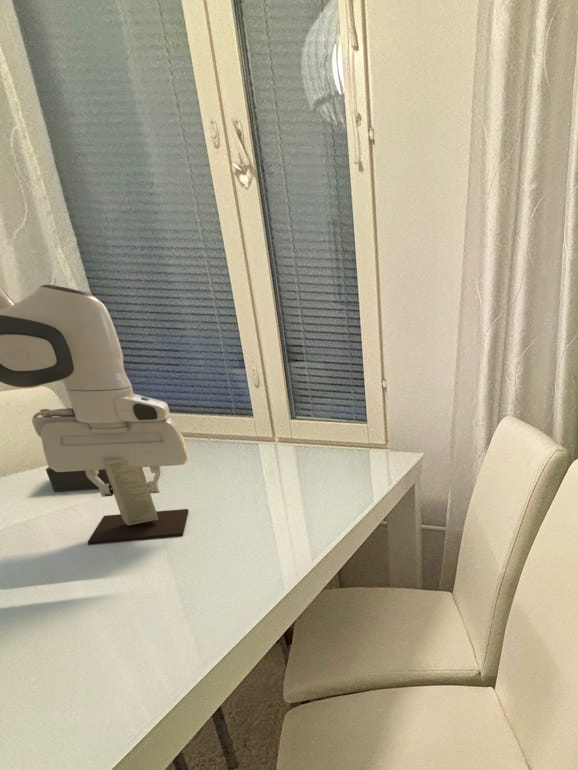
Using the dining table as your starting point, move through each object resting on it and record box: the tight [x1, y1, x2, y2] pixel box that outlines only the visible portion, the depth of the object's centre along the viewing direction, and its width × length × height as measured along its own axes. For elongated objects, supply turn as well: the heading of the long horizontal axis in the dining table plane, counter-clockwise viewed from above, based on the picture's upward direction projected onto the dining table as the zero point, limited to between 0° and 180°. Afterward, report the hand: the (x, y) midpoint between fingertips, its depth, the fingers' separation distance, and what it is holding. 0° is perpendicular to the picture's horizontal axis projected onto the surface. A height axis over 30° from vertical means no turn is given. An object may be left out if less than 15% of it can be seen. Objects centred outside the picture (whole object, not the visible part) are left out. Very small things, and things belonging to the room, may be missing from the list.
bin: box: [45, 466, 110, 493], centre depth 119 cm, size 12×13×5 cm
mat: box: [87, 508, 190, 546], centre depth 97 cm, size 14×14×1 cm
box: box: [103, 458, 158, 525], centre depth 93 cm, size 5×4×11 cm
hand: (132, 494), depth 94 cm, fingers closed on box, 6 cm apart
